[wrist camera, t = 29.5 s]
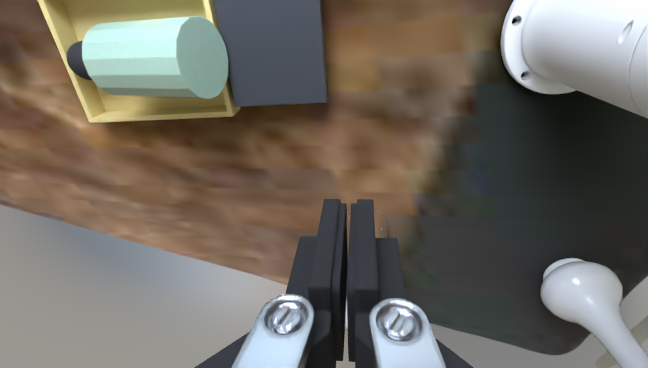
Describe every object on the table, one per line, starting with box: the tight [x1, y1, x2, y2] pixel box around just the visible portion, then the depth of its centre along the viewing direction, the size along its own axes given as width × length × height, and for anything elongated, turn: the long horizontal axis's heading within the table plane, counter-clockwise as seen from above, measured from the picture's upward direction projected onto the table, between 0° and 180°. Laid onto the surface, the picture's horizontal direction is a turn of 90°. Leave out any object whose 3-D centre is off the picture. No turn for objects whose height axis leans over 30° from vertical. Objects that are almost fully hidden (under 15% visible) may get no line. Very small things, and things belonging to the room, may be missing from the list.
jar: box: [82, 16, 228, 99], centre depth 32 cm, size 7×7×11 cm
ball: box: [66, 41, 93, 81], centre depth 35 cm, size 4×4×4 cm
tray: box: [38, 0, 240, 123], centre depth 35 cm, size 17×13×3 cm
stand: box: [214, 0, 328, 107], centre depth 34 cm, size 10×11×3 cm
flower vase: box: [540, 258, 648, 368], centre depth 36 cm, size 13×18×25 cm
